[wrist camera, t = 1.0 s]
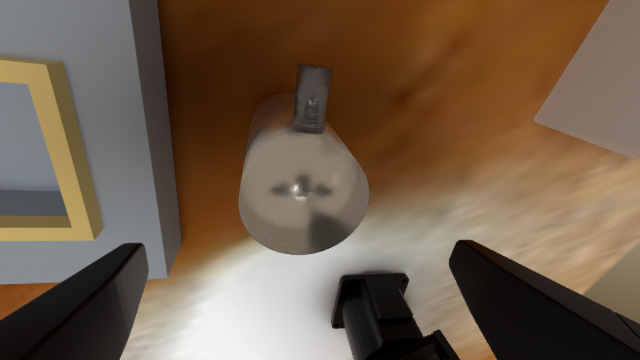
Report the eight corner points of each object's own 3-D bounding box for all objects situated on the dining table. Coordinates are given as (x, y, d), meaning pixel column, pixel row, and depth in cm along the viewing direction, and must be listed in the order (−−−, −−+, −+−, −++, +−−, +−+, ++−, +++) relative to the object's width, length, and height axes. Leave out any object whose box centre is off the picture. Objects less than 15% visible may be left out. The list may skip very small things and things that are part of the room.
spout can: (319, 166, 20) (356, 253, 12) (248, 162, 19) (238, 256, 11) (334, 58, 17) (398, 80, 9) (251, 47, 16) (239, 60, 8)
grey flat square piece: (182, 242, 21) (162, 291, 17) (-61, 243, 18) (-155, 304, 14) (154, -21, 14) (110, -43, 10) (-257, -94, 11) (-566, -169, 7)
